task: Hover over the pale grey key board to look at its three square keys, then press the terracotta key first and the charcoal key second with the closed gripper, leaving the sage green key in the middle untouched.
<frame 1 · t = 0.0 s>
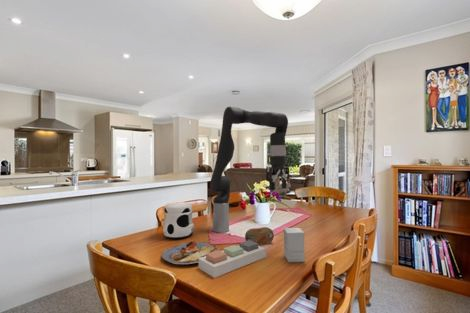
hand: (278, 189, 118), 29 cm above the table, tool pointing down, fingers open, 8 cm apart
food plate: (190, 256, 115), on the table
sage key: (233, 251, 107), point 5 cm above the table, slide at 0.0 cm
brown rounded lump: (259, 244, 128), on the table
key board: (233, 262, 107), on the table
supplement box: (294, 259, 109), on the table
milk container: (178, 236, 144), on the table
terracotta key: (216, 257, 101), point 5 cm above the table, slide at 0.0 cm
charcoal key: (248, 246, 112), point 4 cm above the table, slide at 0.0 cm
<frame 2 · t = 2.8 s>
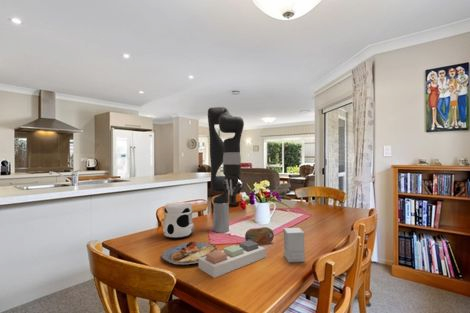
hand: (232, 203, 106), 25 cm above the table, tool pointing down, fingers closed
nothing on the table moved.
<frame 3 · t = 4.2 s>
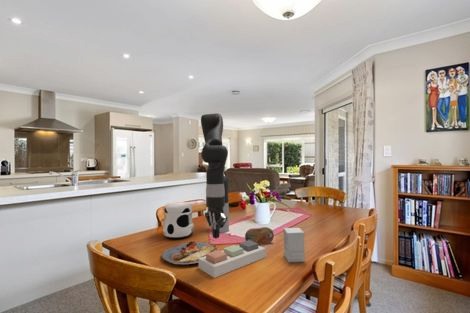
hand: (216, 237, 101), 13 cm above the table, tool pointing down, fingers closed
nothing on the table moved.
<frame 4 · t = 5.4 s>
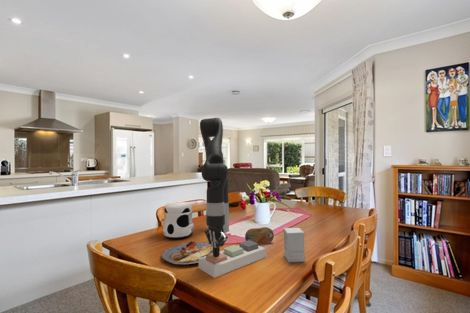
hand: (216, 256, 101), 5 cm above the table, tool pointing down, fingers closed
terracotta key: (216, 259, 101), point 4 cm above the table, slide at 0.8 cm, touching gripper
everything else where it was.
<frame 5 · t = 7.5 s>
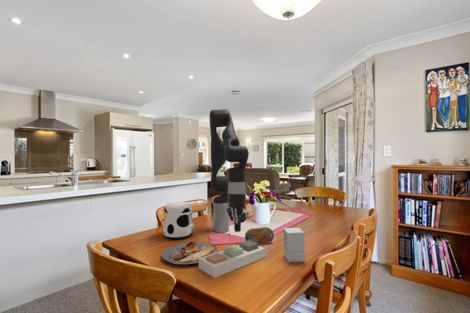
hand: (237, 231, 109), 12 cm above the table, tool pointing down, fingers closed
terracotta key: (216, 260, 101), point 3 cm above the table, slide at 1.2 cm
everything else where it was.
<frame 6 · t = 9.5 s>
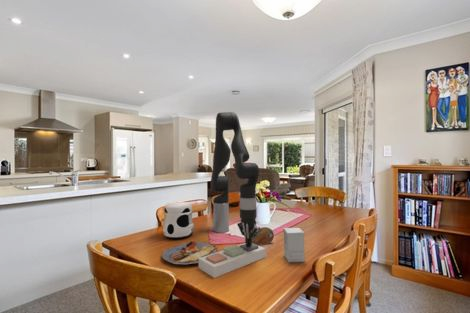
hand: (248, 245, 112), 5 cm above the table, tool pointing down, fingers closed
charcoal key: (248, 249, 112), point 3 cm above the table, slide at 1.1 cm, touching gripper
everything else where it was.
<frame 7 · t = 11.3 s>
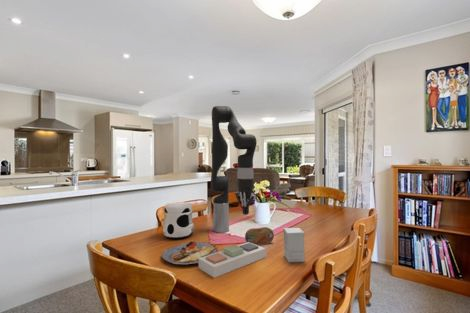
hand: (245, 214, 116), 18 cm above the table, tool pointing down, fingers closed
charcoal key: (248, 249, 112), point 3 cm above the table, slide at 1.3 cm
everything else where it was.
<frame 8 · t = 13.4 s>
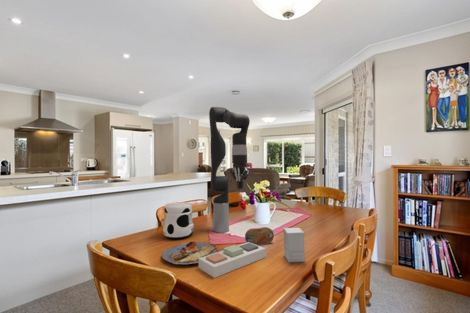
hand: (240, 188, 125), 29 cm above the table, tool pointing down, fingers closed
nothing on the table moved.
at the end: terracotta key slide at 1.2 cm; charcoal key slide at 1.3 cm; sage key slide at 0.0 cm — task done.
